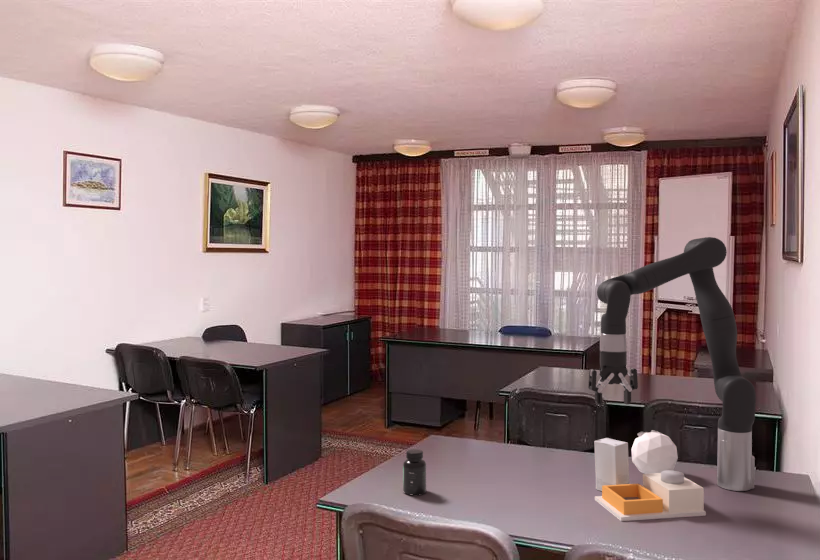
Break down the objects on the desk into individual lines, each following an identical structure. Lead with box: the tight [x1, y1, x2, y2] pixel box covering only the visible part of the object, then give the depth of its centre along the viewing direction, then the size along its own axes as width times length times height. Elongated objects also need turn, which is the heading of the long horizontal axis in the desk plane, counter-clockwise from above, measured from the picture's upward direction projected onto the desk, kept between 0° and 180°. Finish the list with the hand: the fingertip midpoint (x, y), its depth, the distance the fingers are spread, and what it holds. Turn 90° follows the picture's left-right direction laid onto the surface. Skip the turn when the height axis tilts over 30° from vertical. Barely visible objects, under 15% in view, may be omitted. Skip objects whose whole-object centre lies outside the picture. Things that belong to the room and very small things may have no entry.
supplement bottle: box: [402, 448, 427, 496], centre depth 201 cm, size 7×7×12 cm
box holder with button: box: [594, 470, 707, 522], centre depth 189 cm, size 24×16×9 cm, turn 99°
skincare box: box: [593, 437, 630, 492], centre depth 202 cm, size 8×6×15 cm
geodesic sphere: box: [630, 429, 679, 474], centre depth 217 cm, size 15×14×14 cm
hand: (612, 404), depth 201 cm, fingers open, 8 cm apart
